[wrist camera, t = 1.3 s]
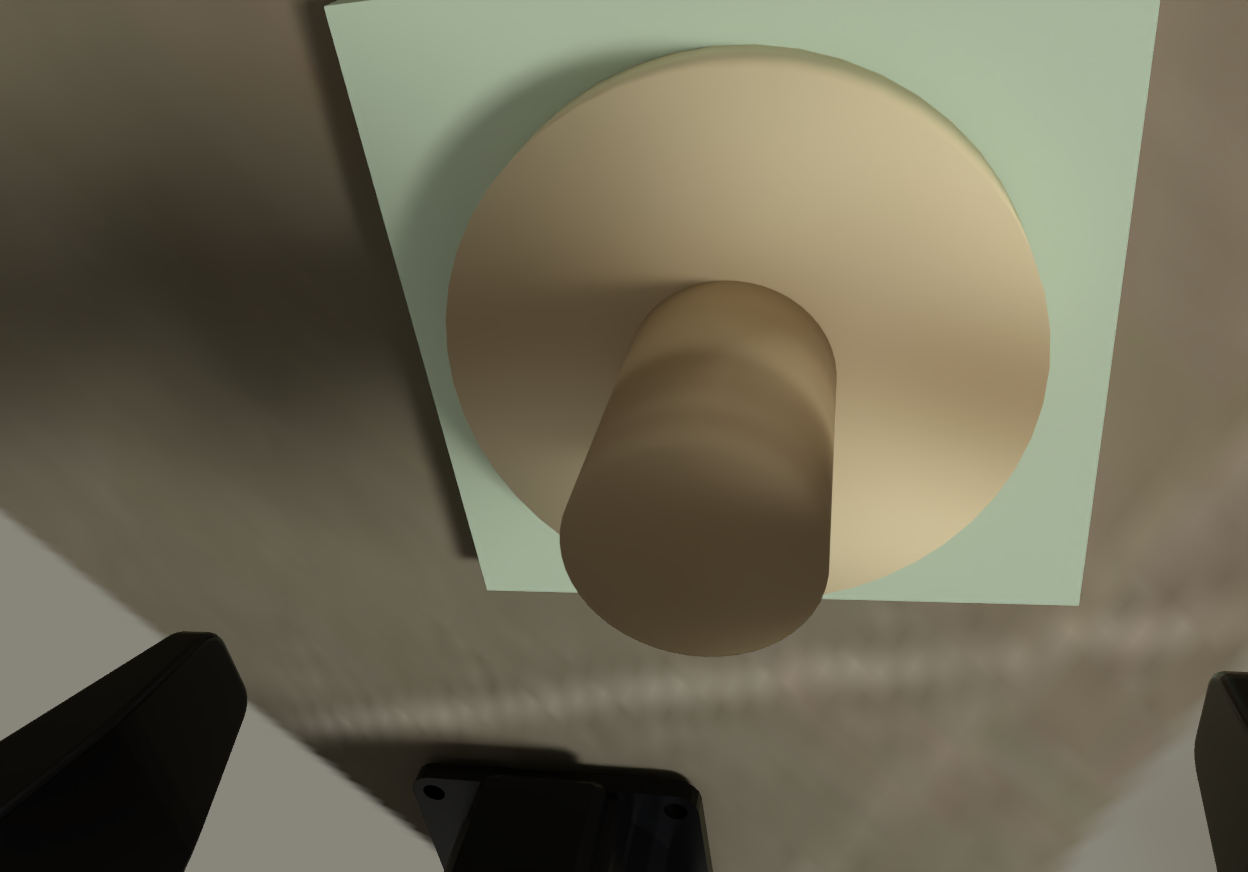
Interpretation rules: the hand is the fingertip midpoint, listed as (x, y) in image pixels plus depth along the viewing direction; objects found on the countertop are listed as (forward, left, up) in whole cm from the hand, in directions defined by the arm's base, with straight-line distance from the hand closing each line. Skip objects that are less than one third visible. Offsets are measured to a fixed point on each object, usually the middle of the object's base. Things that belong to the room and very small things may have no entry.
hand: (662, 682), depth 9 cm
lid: (0, 0, -7) cm, 7 cm away
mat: (0, 0, -7) cm, 7 cm away
